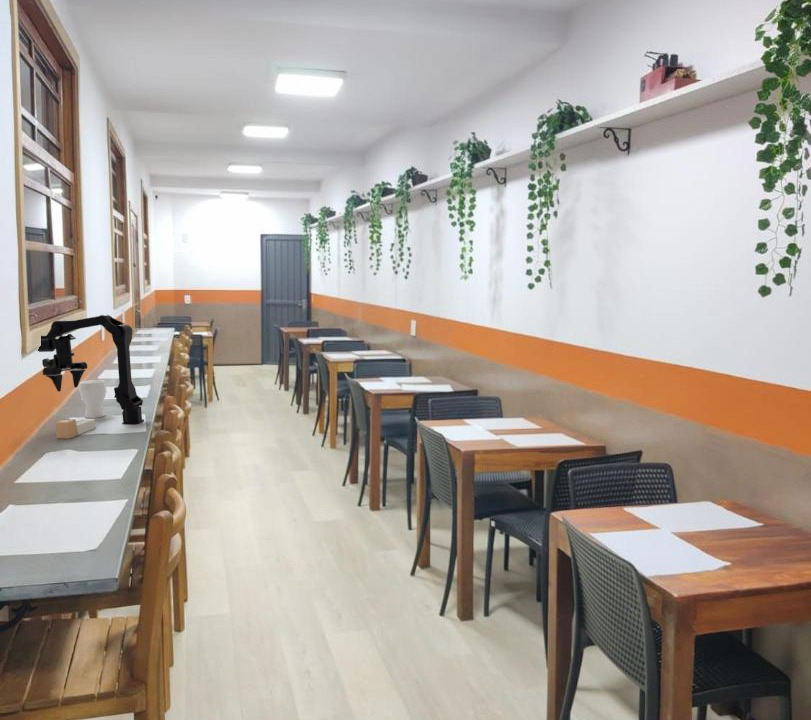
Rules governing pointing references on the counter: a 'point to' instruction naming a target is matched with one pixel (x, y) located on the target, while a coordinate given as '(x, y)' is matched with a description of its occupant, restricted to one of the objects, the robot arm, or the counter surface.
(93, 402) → the cup
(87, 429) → the white slotted tower
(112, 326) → the robot arm
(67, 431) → the light brown cardboard box
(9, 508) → the counter surface
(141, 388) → the counter surface
